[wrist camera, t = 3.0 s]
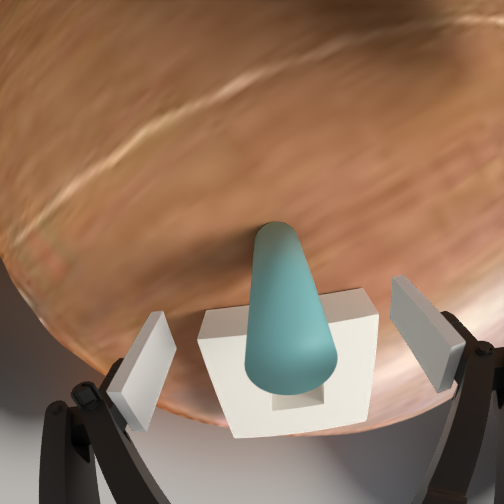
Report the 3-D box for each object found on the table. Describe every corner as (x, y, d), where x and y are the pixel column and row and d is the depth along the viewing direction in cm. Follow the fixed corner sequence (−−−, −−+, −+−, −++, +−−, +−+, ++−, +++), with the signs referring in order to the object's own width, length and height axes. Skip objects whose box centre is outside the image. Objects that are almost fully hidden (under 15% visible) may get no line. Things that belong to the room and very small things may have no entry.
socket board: (206, 310, 30) (197, 339, 25) (362, 287, 28) (378, 313, 23) (237, 409, 35) (234, 438, 30) (357, 392, 34) (366, 420, 29)
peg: (250, 225, 26) (235, 334, 11) (295, 218, 26) (337, 320, 11) (258, 266, 28) (253, 399, 13) (300, 260, 27) (337, 387, 12)
